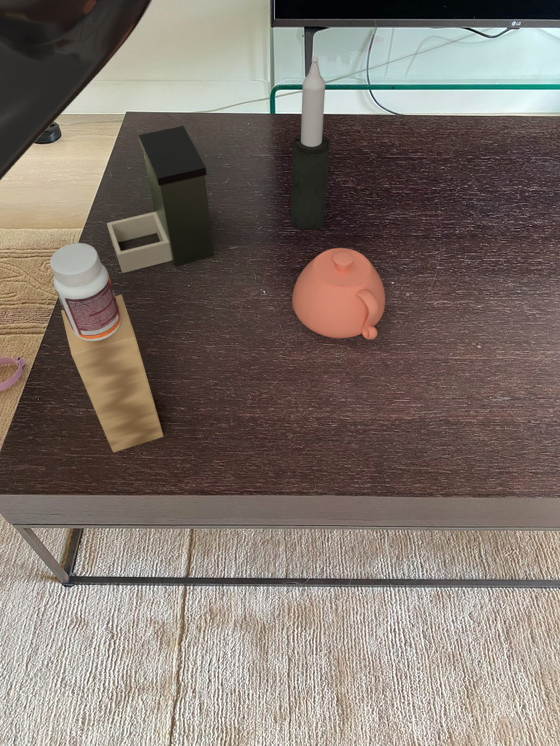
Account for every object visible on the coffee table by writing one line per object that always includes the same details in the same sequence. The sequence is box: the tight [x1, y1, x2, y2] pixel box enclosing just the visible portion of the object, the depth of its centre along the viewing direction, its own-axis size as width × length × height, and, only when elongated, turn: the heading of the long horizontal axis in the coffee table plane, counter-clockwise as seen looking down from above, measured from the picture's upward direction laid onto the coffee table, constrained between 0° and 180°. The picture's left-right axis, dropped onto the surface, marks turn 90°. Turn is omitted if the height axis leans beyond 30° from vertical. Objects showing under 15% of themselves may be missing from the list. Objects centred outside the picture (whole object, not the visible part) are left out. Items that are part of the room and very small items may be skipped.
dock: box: [106, 211, 173, 274], centre depth 91 cm, size 7×7×4 cm
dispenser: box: [138, 125, 215, 267], centre depth 88 cm, size 6×10×15 cm, turn 21°
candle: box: [290, 55, 331, 230], centre depth 87 cm, size 5×5×25 cm
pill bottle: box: [49, 242, 121, 341], centre depth 56 cm, size 5×5×8 cm
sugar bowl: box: [291, 247, 386, 340], centre depth 80 cm, size 12×14×10 cm
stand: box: [60, 294, 164, 453], centre depth 67 cm, size 6×6×18 cm
